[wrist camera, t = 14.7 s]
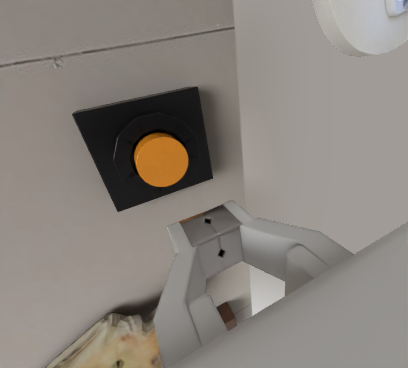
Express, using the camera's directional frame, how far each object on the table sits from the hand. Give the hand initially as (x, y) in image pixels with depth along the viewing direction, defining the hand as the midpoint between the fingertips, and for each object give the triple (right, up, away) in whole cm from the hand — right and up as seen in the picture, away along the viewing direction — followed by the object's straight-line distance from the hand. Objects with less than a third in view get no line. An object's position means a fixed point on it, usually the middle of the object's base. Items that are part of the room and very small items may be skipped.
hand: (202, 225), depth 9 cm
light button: (-4, +4, +8) cm, 10 cm away
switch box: (-5, +5, +11) cm, 14 cm away
